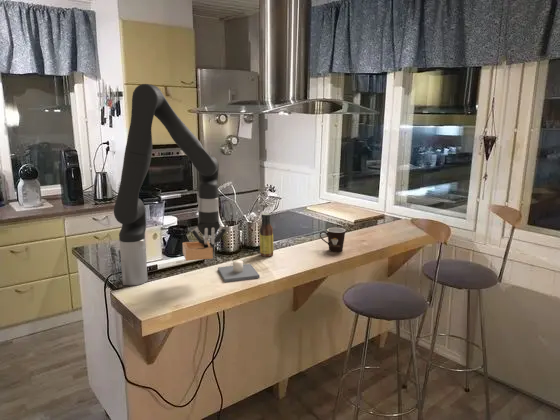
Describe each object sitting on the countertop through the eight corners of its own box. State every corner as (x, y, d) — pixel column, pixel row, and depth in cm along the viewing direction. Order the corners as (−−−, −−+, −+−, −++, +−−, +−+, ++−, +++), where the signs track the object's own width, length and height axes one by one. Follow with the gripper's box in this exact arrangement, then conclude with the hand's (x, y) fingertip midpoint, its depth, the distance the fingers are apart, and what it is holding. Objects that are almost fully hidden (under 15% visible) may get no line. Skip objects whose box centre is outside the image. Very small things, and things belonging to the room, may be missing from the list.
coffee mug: (348, 250, 209) (349, 230, 207) (337, 254, 203) (338, 233, 201) (328, 245, 217) (329, 225, 215) (318, 248, 211) (318, 229, 208)
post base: (224, 282, 169) (224, 269, 168) (218, 270, 182) (217, 258, 181) (259, 277, 174) (259, 265, 173) (250, 266, 187) (250, 254, 186)
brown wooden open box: (186, 260, 160) (185, 250, 159) (182, 252, 169) (182, 242, 168) (212, 258, 163) (212, 248, 162) (208, 250, 172) (208, 240, 172)
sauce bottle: (266, 252, 206) (266, 211, 201) (276, 254, 202) (276, 213, 197) (256, 255, 201) (256, 213, 196) (267, 258, 197) (266, 215, 192)
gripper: (191, 212, 158) (192, 257, 162) (228, 210, 162) (228, 254, 166) (188, 207, 165) (189, 251, 169) (224, 206, 169) (224, 248, 173)
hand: (208, 252), depth 168 cm, fingers closed on brown wooden open box, 1 cm apart
